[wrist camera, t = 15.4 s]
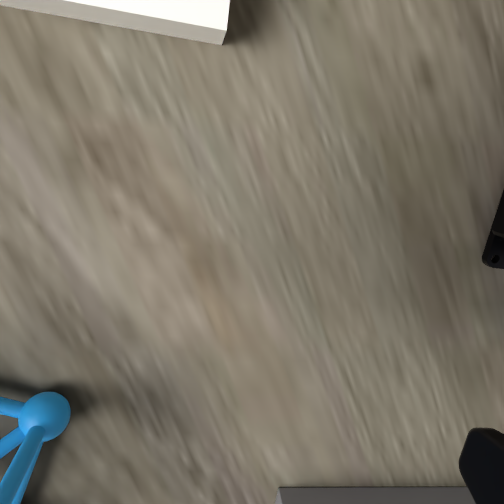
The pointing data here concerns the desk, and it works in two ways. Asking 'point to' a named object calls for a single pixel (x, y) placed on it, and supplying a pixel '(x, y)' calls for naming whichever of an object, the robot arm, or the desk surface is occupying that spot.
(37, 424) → the molecular structure
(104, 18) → the off-white block
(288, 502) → the grey tray
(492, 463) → the robot arm
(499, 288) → the desk surface
